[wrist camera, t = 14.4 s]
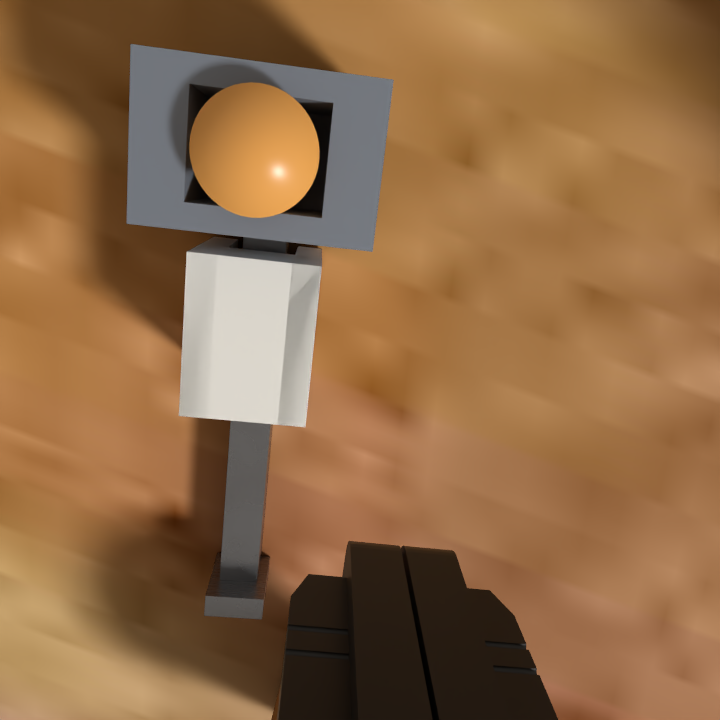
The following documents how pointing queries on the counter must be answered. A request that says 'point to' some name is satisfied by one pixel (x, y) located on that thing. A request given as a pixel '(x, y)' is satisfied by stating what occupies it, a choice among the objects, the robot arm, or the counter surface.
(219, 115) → the plunger
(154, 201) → the grey hollow block
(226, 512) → the rail
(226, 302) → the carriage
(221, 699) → the counter surface
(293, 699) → the robot arm
